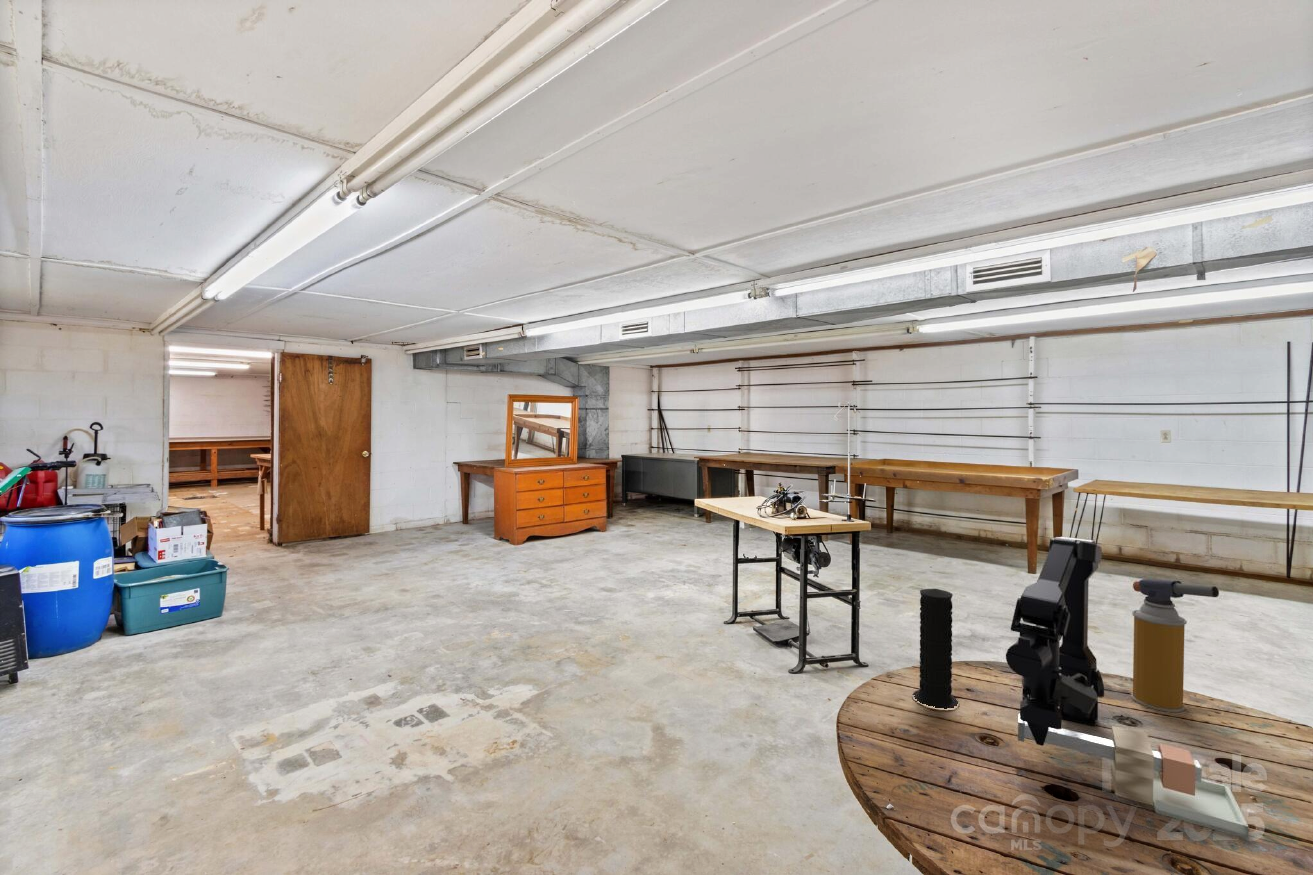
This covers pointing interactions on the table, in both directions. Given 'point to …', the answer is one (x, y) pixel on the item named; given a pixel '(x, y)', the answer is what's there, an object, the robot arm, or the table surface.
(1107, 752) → the shaft
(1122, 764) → the pillow block
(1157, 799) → the tray
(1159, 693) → the blowtorch
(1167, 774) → the collar
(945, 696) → the handle grip
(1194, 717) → the table surface
